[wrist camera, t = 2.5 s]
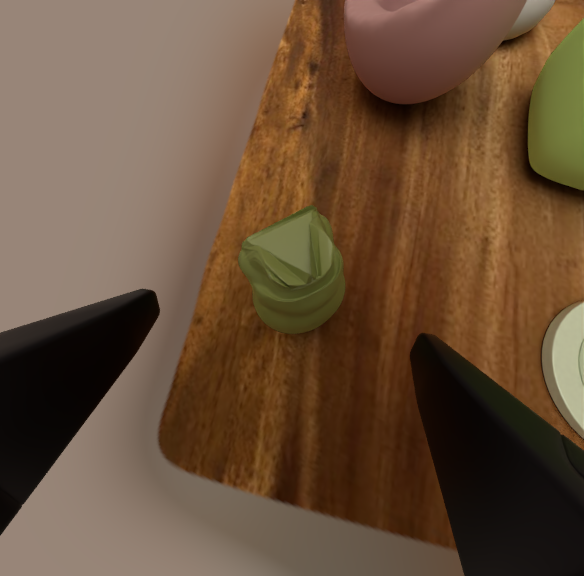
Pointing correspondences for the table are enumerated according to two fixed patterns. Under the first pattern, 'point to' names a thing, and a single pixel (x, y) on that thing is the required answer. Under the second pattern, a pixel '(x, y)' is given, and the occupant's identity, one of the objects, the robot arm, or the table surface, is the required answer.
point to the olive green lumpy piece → (294, 272)
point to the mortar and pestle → (423, 43)
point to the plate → (566, 364)
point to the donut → (529, 17)
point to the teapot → (559, 114)
